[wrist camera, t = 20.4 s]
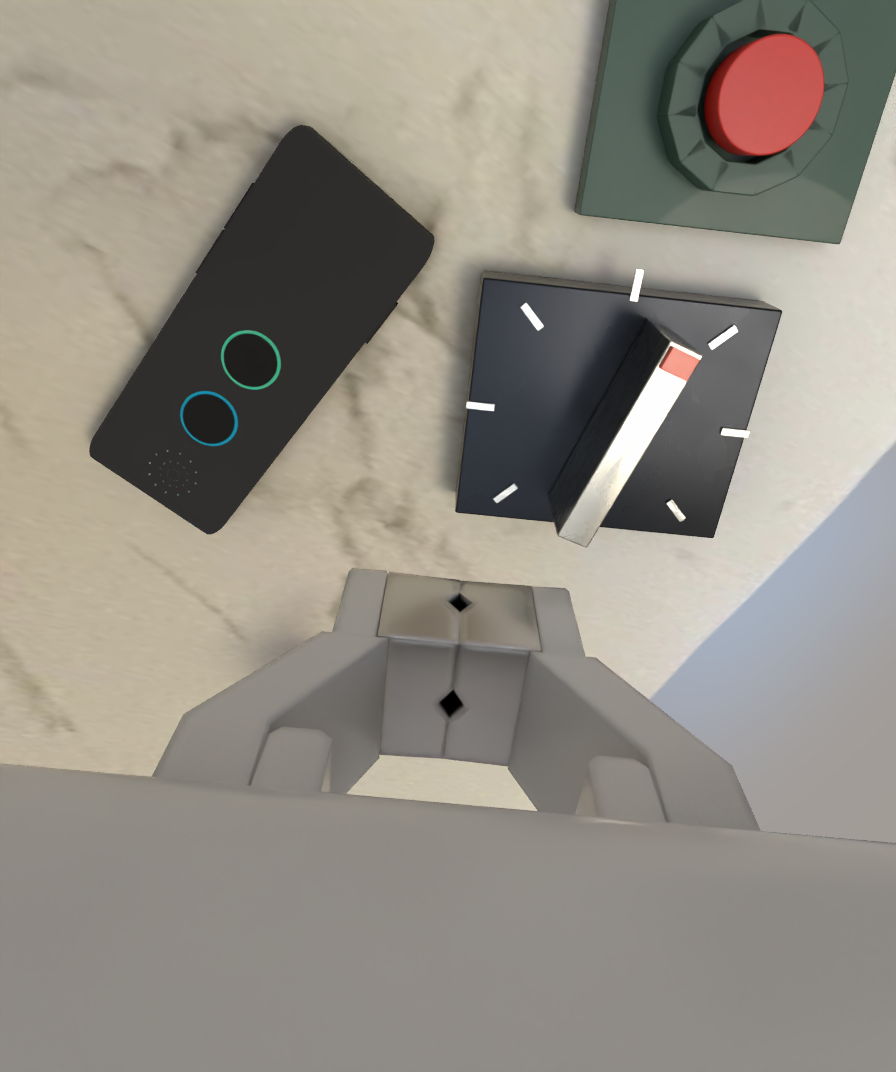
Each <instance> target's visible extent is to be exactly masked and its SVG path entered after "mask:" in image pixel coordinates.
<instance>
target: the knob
mask: <svg viewBox="0 0 896 1072" xmlns="http://www.w3.org/2000/svg"><path fill="white" fill-rule="evenodd" d="M702 357H703V355H702V354H701V353H700V352H698V351H697V350H696V349H695V348H694V347H692V346H691V345H690V344H689V343H688V342H686V341H685V340H684V339H683V338H681V337H680V336H679V335H678V334H677V333H675V332H674V331H671V330H669V329H667V328H665V327H663V326H661V325H659V324H657V323H655V322H653V321H651V320H649V319H647V320H646V322H645V323H644V325H643V327H642V329H641V331H640V332H639V334H638V336H637V338H636V339H635V341H634V343H633V345H632V347H631V348H630V350H629V352H628V354H627V356H626V357H625V359H624V361H623V363H622V365H621V366H620V368H619V370H618V372H617V373H616V375H615V377H614V379H613V381H612V382H611V384H610V386H609V388H608V390H607V391H606V393H605V395H604V397H603V399H602V400H601V402H600V404H599V406H598V407H597V409H596V411H595V413H594V415H593V416H592V418H591V420H590V422H589V424H588V425H587V427H586V429H585V431H584V433H583V434H582V436H581V438H580V440H579V441H578V443H577V445H576V447H575V449H574V450H573V452H572V454H571V456H570V458H569V459H568V461H567V463H566V465H565V467H564V468H563V470H562V472H561V474H560V475H559V477H558V479H557V481H556V483H555V484H554V486H553V488H552V490H551V492H550V493H549V495H548V500H549V504H550V508H551V512H552V516H553V520H554V524H555V528H556V532H557V535H558V536H559V537H562V538H564V539H567V540H569V541H571V542H574V543H576V544H579V545H581V546H583V547H587V546H588V545H589V543H590V542H591V540H592V538H593V537H594V535H595V533H596V532H597V530H598V528H599V527H600V525H601V523H602V522H603V520H604V519H605V517H606V515H607V514H608V512H609V510H610V509H611V507H612V505H613V504H614V502H615V500H616V499H617V497H618V496H619V494H620V492H621V491H622V489H623V487H624V486H625V484H626V482H627V481H628V479H629V477H630V476H631V474H632V472H633V471H634V469H635V468H636V466H637V464H638V463H639V461H640V459H641V458H642V456H643V454H644V453H645V451H646V449H647V448H648V446H649V445H650V443H651V441H652V440H653V438H654V436H655V435H656V433H657V431H658V430H659V428H660V426H661V425H662V423H663V422H664V420H665V418H666V417H667V415H668V413H669V412H670V410H671V408H672V407H673V405H674V403H675V402H676V400H677V398H678V397H679V395H680V394H681V392H682V390H683V389H684V387H685V385H686V384H687V382H688V380H689V379H690V377H691V375H692V374H693V372H694V371H695V369H696V367H697V366H698V364H699V362H700V361H701V359H702Z"/></svg>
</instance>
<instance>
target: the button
mask: <svg viewBox="0 0 896 1072" xmlns="http://www.w3.org/2000/svg"><path fill="white" fill-rule="evenodd" d="M823 94H824V72H823V68H822V64H821V61H820V59H819V57H818V55H817V53H816V52H815V50H814V49H813V48H812V47H811V46H810V45H809V44H808V43H807V42H806V41H804V40H802V39H801V38H799V37H796V36H794V35H789V34H773V35H769V36H765V37H763V38H760V39H758V40H755V41H753V42H750V43H748V44H745V45H743V46H741V47H739V48H738V49H736V50H735V51H733V52H732V53H731V54H729V55H728V56H727V57H726V58H725V59H724V60H723V61H722V63H721V64H720V65H719V66H718V68H717V69H716V71H715V72H714V74H713V76H712V78H711V80H710V83H709V85H708V88H707V92H706V96H705V104H704V114H705V121H706V125H707V128H708V131H709V133H710V135H711V136H712V138H713V139H714V141H715V142H716V143H717V144H718V145H719V146H720V147H721V148H723V149H724V150H726V151H728V152H730V153H733V154H736V155H744V156H762V155H770V154H774V153H777V152H780V151H782V150H784V149H786V148H788V147H789V146H791V145H792V144H794V143H795V142H796V141H797V140H798V139H800V138H801V137H802V136H803V134H804V133H805V132H806V131H807V130H808V128H809V127H810V126H811V124H812V123H813V121H814V119H815V118H816V115H817V113H818V111H819V109H820V106H821V103H822V99H823Z"/></svg>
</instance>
